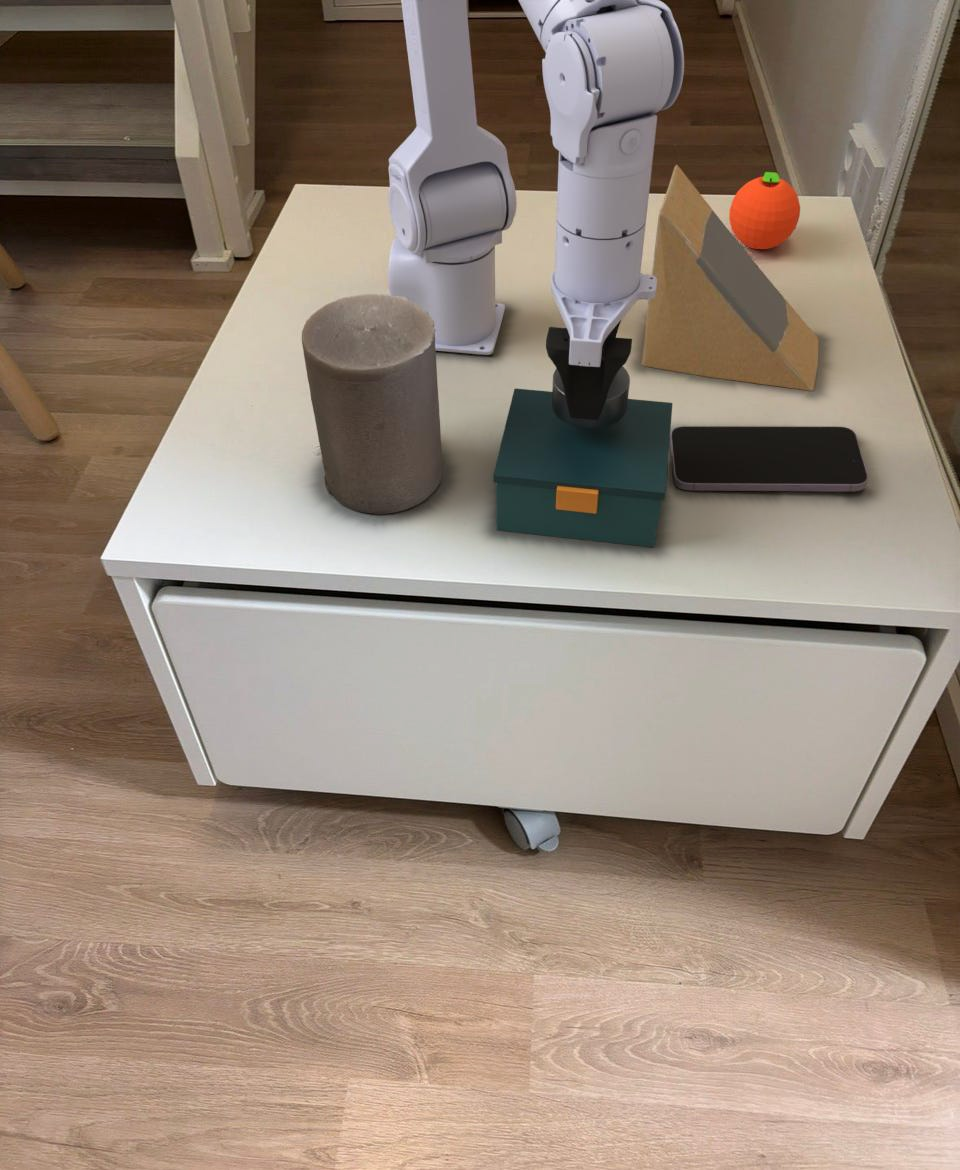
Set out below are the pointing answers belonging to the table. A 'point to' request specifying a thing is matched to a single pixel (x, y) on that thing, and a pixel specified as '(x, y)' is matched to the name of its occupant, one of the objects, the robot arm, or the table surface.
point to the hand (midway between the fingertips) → (588, 390)
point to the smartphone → (767, 458)
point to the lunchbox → (582, 472)
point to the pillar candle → (375, 401)
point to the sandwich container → (719, 303)
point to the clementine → (764, 212)
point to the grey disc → (612, 408)
